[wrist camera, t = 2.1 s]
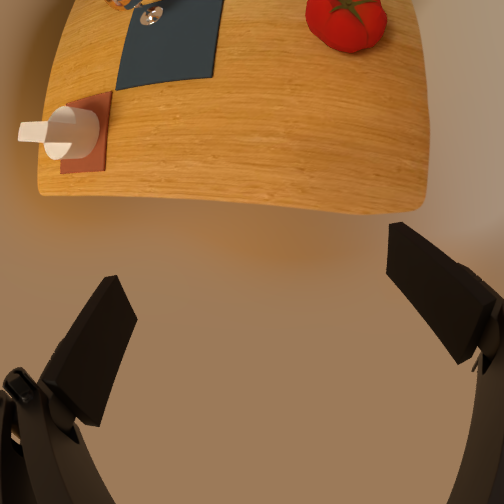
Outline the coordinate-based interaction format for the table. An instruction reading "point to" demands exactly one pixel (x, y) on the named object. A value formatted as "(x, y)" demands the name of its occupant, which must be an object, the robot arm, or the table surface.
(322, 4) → the tomato
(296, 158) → the table surface
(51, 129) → the base with upright slab
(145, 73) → the mat
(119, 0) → the wineglass
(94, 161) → the mat
